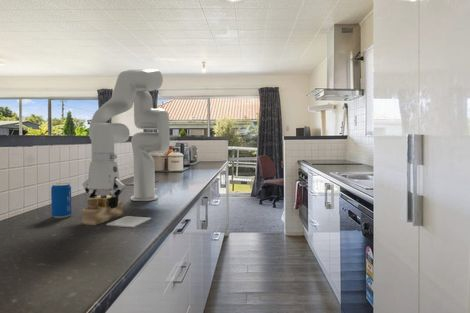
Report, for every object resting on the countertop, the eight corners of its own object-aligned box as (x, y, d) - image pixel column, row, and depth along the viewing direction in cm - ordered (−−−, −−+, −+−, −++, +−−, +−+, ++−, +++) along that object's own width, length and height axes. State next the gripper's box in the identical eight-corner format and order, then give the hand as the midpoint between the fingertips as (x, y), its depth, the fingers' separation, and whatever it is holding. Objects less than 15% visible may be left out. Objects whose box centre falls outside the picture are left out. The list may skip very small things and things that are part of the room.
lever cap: (102, 202, 123) (101, 193, 123) (117, 203, 122) (117, 194, 122) (89, 206, 117) (89, 196, 116) (105, 207, 115) (105, 197, 115)
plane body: (111, 213, 128) (111, 190, 127) (122, 214, 127) (122, 191, 126) (82, 224, 112) (82, 197, 112) (95, 225, 111) (94, 198, 111)
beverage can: (63, 219, 119) (62, 185, 118) (47, 218, 120) (46, 184, 119) (75, 215, 125) (74, 183, 125) (60, 214, 126) (59, 182, 126)
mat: (126, 217, 123) (126, 215, 123) (151, 218, 120) (151, 217, 120) (106, 225, 111) (106, 224, 111) (133, 227, 109) (133, 226, 109)
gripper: (130, 157, 120) (131, 206, 121) (89, 156, 124) (89, 203, 125) (118, 159, 112) (119, 210, 113) (74, 157, 117) (75, 207, 118)
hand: (103, 206), depth 119 cm, fingers open, 7 cm apart
